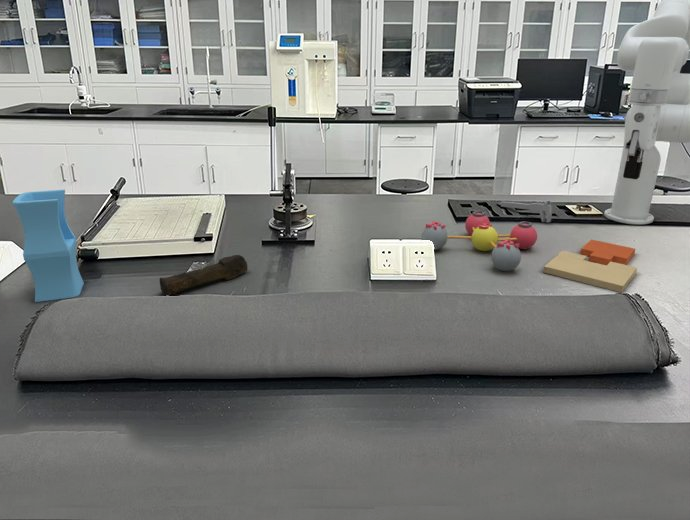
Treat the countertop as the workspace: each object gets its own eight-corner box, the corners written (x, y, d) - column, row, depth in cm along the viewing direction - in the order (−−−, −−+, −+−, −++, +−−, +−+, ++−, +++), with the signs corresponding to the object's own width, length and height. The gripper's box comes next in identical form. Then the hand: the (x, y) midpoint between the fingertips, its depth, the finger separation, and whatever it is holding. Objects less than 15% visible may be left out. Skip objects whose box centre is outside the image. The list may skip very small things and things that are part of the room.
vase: (78, 296, 106) (57, 200, 98) (34, 302, 104) (9, 203, 96) (84, 280, 113) (65, 189, 105) (43, 285, 111) (21, 192, 103)
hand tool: (166, 300, 104) (163, 279, 102) (159, 293, 107) (156, 272, 105) (253, 276, 115) (251, 257, 113) (244, 270, 118) (243, 251, 116)
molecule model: (415, 249, 129) (416, 224, 127) (461, 228, 144) (463, 205, 141) (510, 278, 114) (514, 250, 111) (552, 251, 128) (556, 226, 125)
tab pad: (590, 245, 132) (591, 239, 131) (634, 254, 126) (635, 248, 125) (576, 258, 124) (577, 252, 123) (622, 268, 118) (623, 262, 118)
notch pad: (561, 256, 125) (562, 250, 124) (636, 273, 116) (637, 267, 115) (543, 272, 116) (544, 266, 116) (621, 292, 107) (623, 285, 106)
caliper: (550, 223, 147) (554, 201, 145) (547, 224, 147) (551, 202, 144) (499, 204, 164) (502, 184, 161) (497, 205, 163) (499, 185, 161)
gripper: (659, 101, 111) (641, 186, 118) (673, 96, 122) (655, 174, 129) (621, 98, 116) (605, 181, 123) (637, 94, 126) (621, 170, 133)
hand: (630, 177), depth 126 cm, fingers closed
